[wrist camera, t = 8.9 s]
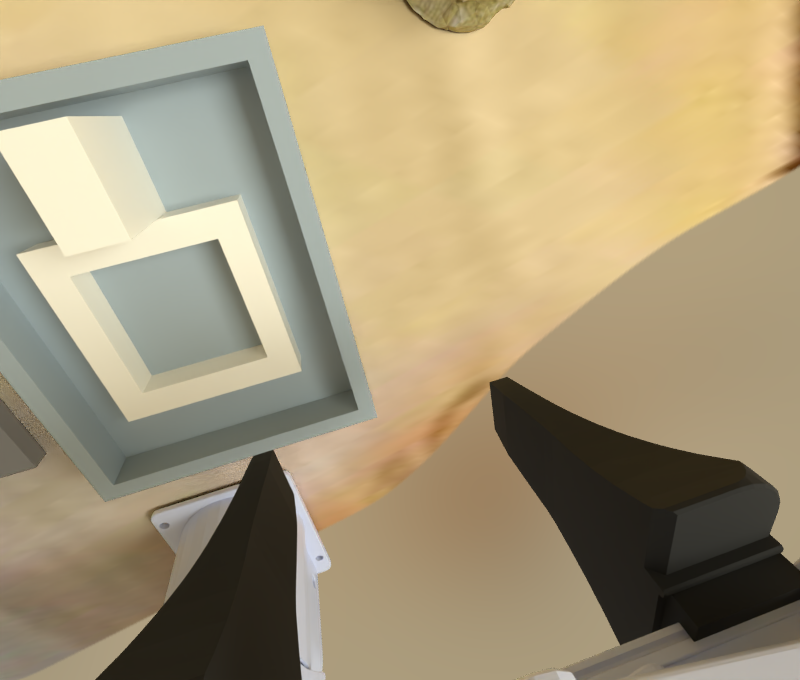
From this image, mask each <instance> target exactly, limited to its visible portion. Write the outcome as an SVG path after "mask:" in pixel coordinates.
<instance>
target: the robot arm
mask: <svg viewBox="0 0 800 680" xmlns="http://www.w3.org/2000/svg"><path fill="white" fill-rule="evenodd" d="M490 390H491V399H492V407H493V416H494V425H495V430H496V432H497V434H498V436H499V438H500V440H501V442H502V444H503V446H504V447H505V449H506V451H507V453H508V455H509V456H510V458H511V459H512V460H513V462H514V463H515V465H516V466H517V467H518V469H519V471H520V472H521V473H522V475H523V476H524V478H525V479H526V480H527V482H528V483H529V485H530V486H531V488H532V489H533V490H534V492H535V493H536V495H537V496H538V497H539V499H540V500H541V502H542V503H543V505H544V506H545V507H546V509H547V510H548V512H549V513H550V515H551V516H552V518H553V520H554V521H555V523H556V524H557V526H558V528H559V530H560V532H561V533H562V535H563V537H564V539H565V540H566V542H567V544H568V546H569V547H570V549H571V551H572V553H573V555H574V557H575V558H576V560H577V562H578V564H579V566H580V568H581V569H582V571H583V573H584V575H585V577H586V578H587V581H588V582H589V584H590V586H591V588H592V590H593V592H594V594H595V596H596V598H597V600H598V602H599V604H600V605H601V607H602V609H603V611H604V613H605V615H606V617H607V619H608V621H609V623H610V625H611V628H612V629H613V632H614V634H615V635H616V638H617V639H618V642H619V643H620V646H617V647H615V648H612V649H610V650H607V651H605V652H602V653H600V654H597V655H594V656H592V657H589V658H587V659H584V660H582V661H579V662H577V663H574V664H572V665H569V666H566V667H564V668H561V669H555V668H550V669H546V670H542V671H538V672H534V673H530V674H528V675H525V676H523V677H520V678H517V679H515V680H800V559H798V560H797V561H796V562H795V563H794V564H792V563H790V561H788V560H787V559H786V558H785V557H784V556H783V555H782V554H781V552H782V551H783V547H782V545H781V544H780V543H779V542H778V541H777V540H775V539H774V538H773V537H772V536H771V535H770V531H771V529H772V526H773V523H774V520H775V518H776V515H777V513H778V509H779V504H780V498H779V494H778V491H777V490H776V489H775V488H774V487H773V486H772V485H771V484H770V483H768V482H767V481H766V480H764V479H763V478H762V477H761V476H759V475H758V474H757V473H755V472H754V471H753V470H751V469H750V468H749V467H747V466H746V465H744V464H743V463H741V462H740V461H736V460H730V459H723V458H718V457H712V456H705V455H700V454H695V453H691V452H686V451H682V450H677V449H673V448H669V447H665V446H661V445H658V444H654V443H650V442H647V441H644V440H640V439H637V438H634V437H631V436H627V435H625V434H622V433H619V432H616V431H614V430H611V429H608V428H606V427H603V426H601V425H598V424H596V423H593V422H591V421H588V420H586V419H584V418H582V417H580V416H578V415H576V414H573V413H571V412H569V411H567V410H565V409H563V408H561V407H559V406H557V405H555V404H554V403H551V402H550V401H548V400H546V399H544V398H543V397H541V396H539V395H537V394H535V393H534V392H532V391H530V390H528V389H527V388H525V387H523V386H522V385H520V384H518V383H517V382H515V381H513V380H511V379H510V378H508V377H505V378H502V379H499V380H496V381H492V382H490ZM151 522H152V524H153V525H154V526H155V528H156V529H157V530H158V532H159V533H160V534H161V536H162V537H163V538H164V540H165V541H166V542H167V544H168V545H169V546H170V548H171V549H172V550H173V552H174V553H175V554H176V557H175V561H174V565H173V569H172V573H171V577H170V581H169V585H168V589H167V593H166V596H165V600H164V604H163V606H162V608H161V609H160V610H159V611H158V613H157V614H156V615H155V616H154V617H153V618H152V620H151V621H150V622H149V623H148V624H147V626H146V627H145V628H144V629H143V630H142V631H141V632H140V634H138V636H137V637H136V638H135V639H134V640H133V641H132V642H131V643H130V644H129V646H128V647H127V648H126V649H125V650H124V651H123V652H122V653H121V654H120V655H119V656H118V657H117V658H116V659H115V660H114V661H113V662H112V663H111V664H110V665H109V666H108V667H107V668H106V669H105V670H104V671H103V672H102V674H100V676H99V677H98V678H96V680H325V673H324V672H322V667H323V653H322V638H321V622H320V607H319V593H318V577H317V574H318V573H321V572H324V571H326V570H328V569H329V568H330V567H331V561H330V558H329V556H328V554H327V552H326V550H325V547H324V545H323V543H322V541H321V539H320V536H319V534H318V532H317V530H316V528H315V526H314V523H313V521H312V519H311V517H310V515H309V513H308V511H307V508H306V506H305V504H304V502H303V500H302V498H301V495H300V493H299V491H298V489H297V487H296V485H295V482H294V480H293V478H292V476H291V474H290V473H289V472H288V471H283V470H282V467H281V465H280V463H279V461H278V459H277V457H276V455H275V453H274V451H273V450H271V451H267V452H264V453H261V454H258V455H255V456H253V458H252V460H251V462H250V464H249V466H248V468H247V470H246V472H245V474H244V476H243V478H242V481H241V483H240V484H237V485H234V486H231V487H228V488H224V489H221V490H218V491H215V492H212V493H209V494H206V495H202V496H199V497H196V498H193V499H190V500H187V501H183V502H180V503H177V504H174V505H171V506H168V507H165V508H161V509H158V510H156V511H154V512H153V514H152V517H151ZM165 523H166V524H165Z"/></svg>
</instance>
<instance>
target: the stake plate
mask: <svg viewBox="0 0 800 680" xmlns="http://www.w3.org/2000/svg"><path fill="white" fill-rule="evenodd" d="M45 454H46V453H45V451H44V450H43V449H42V448H41V447H40V445H39V444H38V443H37V442H36V441H35V439H34V438H33V437H32V436H31V435H30V433H29V432H28V431H27V430H26V429H25V428H24V426H23V425H22V424H21V423H20V422H19V420H18V419H17V418H16V417H15V416H14V414H13V413H12V412H11V411H10V410H9V408H8V407H7V406H6V405H5V404H4V403H3V401H2V400H1V399H0V478H2V477H5V476H9V475H12V474H15V473H19V472H22V471H26V470H29V469H32V468H36V467H37V465H38V464H39V462H40V461H41V460H42V458H43V457H44V455H45Z"/></svg>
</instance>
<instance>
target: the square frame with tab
mask: <svg viewBox="0 0 800 680" xmlns="http://www.w3.org/2000/svg"><path fill="white" fill-rule="evenodd" d="M0 152H1V153H2V155H3V157H4V158H5V160H6V162H7V163H8V165H9V166H10V168H11V170H12V171H13V173H14V175H15V176H16V178H17V179H18V181H19V183H20V184H21V186H22V188H23V189H24V191H25V192H26V194H27V196H28V197H29V199H30V201H31V202H32V204H33V205H34V207H35V209H36V210H37V212H38V214H39V215H40V217H41V218H42V220H43V222H44V223H45V225H46V227H47V228H48V230H49V231H50V233H51V235H52V236H53V238H54V240H51V241H47V242H43V243H39V244H36V245H34V246H32V247H30V248H28V249H26V250H24V251H22V252H20V253H18V254H17V257H18V258H19V260H20V261H21V263H22V264H23V266H24V267H25V269H26V270H27V272H28V273H29V275H30V276H31V278H32V279H33V281H34V282H35V284H36V285H37V287H38V288H39V290H40V291H41V293H42V294H43V296H44V297H45V299H46V300H47V301H48V303H49V304H50V306H51V307H52V309H53V310H54V312H55V313H56V315H57V316H58V318H59V319H60V321H61V322H62V324H63V325H64V327H65V328H66V330H67V331H68V333H69V334H70V336H71V337H72V339H73V340H74V342H75V343H76V345H77V346H78V348H79V349H80V350H81V352H82V353H83V355H84V356H85V358H86V359H87V361H88V362H89V364H90V365H91V367H92V368H93V370H94V371H95V373H96V374H97V376H98V377H99V379H100V380H101V382H102V383H103V385H104V386H105V388H106V389H107V391H108V392H109V394H110V395H111V397H112V398H113V399H114V401H115V402H116V404H117V405H118V407H119V408H120V410H121V411H122V413H123V414H124V416H125V417H126V419H127V420H128V422H130V421H134V420H137V419H140V418H144V417H147V416H151V415H154V414H157V413H161V412H164V411H168V410H171V409H174V408H178V407H181V406H185V405H188V404H191V403H195V402H198V401H202V400H205V399H209V398H212V397H215V396H219V395H222V394H226V393H229V392H232V391H236V390H239V389H243V388H246V387H249V386H253V385H256V384H260V383H263V382H266V381H270V380H273V379H277V378H280V377H283V376H287V375H290V374H294V373H297V372H300V371H302V368H301V355H300V352H299V350H298V347H297V344H296V341H295V339H294V336H293V333H292V331H291V328H290V325H289V323H288V320H287V317H286V315H285V312H284V309H283V307H282V304H281V301H280V299H279V296H278V293H277V290H276V288H275V285H274V282H273V280H272V277H271V274H270V272H269V269H268V266H267V264H266V261H265V258H264V256H263V253H262V250H261V247H260V245H259V242H258V239H257V237H256V234H255V231H254V229H253V226H252V223H251V221H250V218H249V215H248V213H247V210H246V207H245V204H244V202H243V199H242V196H241V194H238V195H234V196H230V197H226V198H222V199H218V200H214V201H210V202H205V203H201V204H197V205H193V206H189V207H185V208H181V209H177V210H173V211H169V212H166V210H165V208H164V206H163V204H162V201H161V199H160V197H159V195H158V193H157V191H156V188H155V186H154V184H153V182H152V180H151V178H150V176H149V173H148V171H147V169H146V167H145V165H144V163H143V161H142V158H141V156H140V154H139V152H138V150H137V148H136V146H135V143H134V141H133V139H132V137H131V135H130V133H129V131H128V128H127V126H126V124H125V122H124V120H123V118H122V116H66V117H61V118H57V119H52V120H48V121H43V122H38V123H34V124H29V125H25V126H20V127H15V128H11V129H6V130H2V131H0ZM215 239H218V240H219V242H220V245H221V247H222V249H223V252H224V254H225V256H226V259H227V261H228V264H229V266H230V268H231V271H232V273H233V276H234V278H235V280H236V283H237V285H238V287H239V290H240V292H241V295H242V297H243V299H244V302H245V304H246V307H247V309H248V311H249V314H250V316H251V319H252V321H253V323H254V326H255V328H256V330H257V333H258V335H259V338H260V340H261V342H262V344H261V345H258V346H254V347H251V348H247V349H243V350H240V351H236V352H233V353H229V354H226V355H222V356H219V357H215V358H212V359H208V360H205V361H201V362H198V363H194V364H191V365H187V366H184V367H180V368H177V369H173V370H170V371H166V372H163V373H159V374H156V375H151V373H150V372H149V370H148V368H147V367H146V365H145V363H144V362H143V360H142V358H141V357H140V355H139V353H138V352H137V350H136V348H135V346H134V345H133V343H132V341H131V340H130V338H129V336H128V335H127V333H126V331H125V330H124V328H123V326H122V325H121V323H120V321H119V320H118V318H117V316H116V315H115V313H114V311H113V310H112V308H111V306H110V305H109V303H108V301H107V299H106V298H105V296H104V294H103V293H102V291H101V289H100V288H99V286H98V284H97V283H96V281H95V279H94V278H93V276H92V274H91V273H90V271H94V270H97V269H101V268H105V267H109V266H113V265H117V264H121V263H125V262H129V261H133V260H137V259H141V258H144V257H148V256H152V255H156V254H160V253H164V252H168V251H172V250H176V249H180V248H184V247H187V246H191V245H195V244H199V243H203V242H207V241H211V240H215Z"/></svg>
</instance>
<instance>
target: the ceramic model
mask: <svg viewBox="0 0 800 680" xmlns="http://www.w3.org/2000/svg"><path fill="white" fill-rule="evenodd" d="M514 1H515V0H407V2H408V3H409V4H410V6H411V7H412V9H413V10H414V11H415V12H417V13H418V14H420V15H421V16H422V18H423V19H424V20H427V21H428V22H430V23H431V24H432V25H434V26H436V27H437V28H443V29H445V30H448V29H449V30H451V31H453V32H471V31H474V30H478V29H481V28H483V27H484V26H485V25H486V24H487V23H489V22H490V20H491V19H492V17H493V16H494V15H495V14H496V13H497V12H499V11H500V10H501V9H503V8H509V7H510V6H511V5H512V3H513V2H514Z"/></svg>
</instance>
